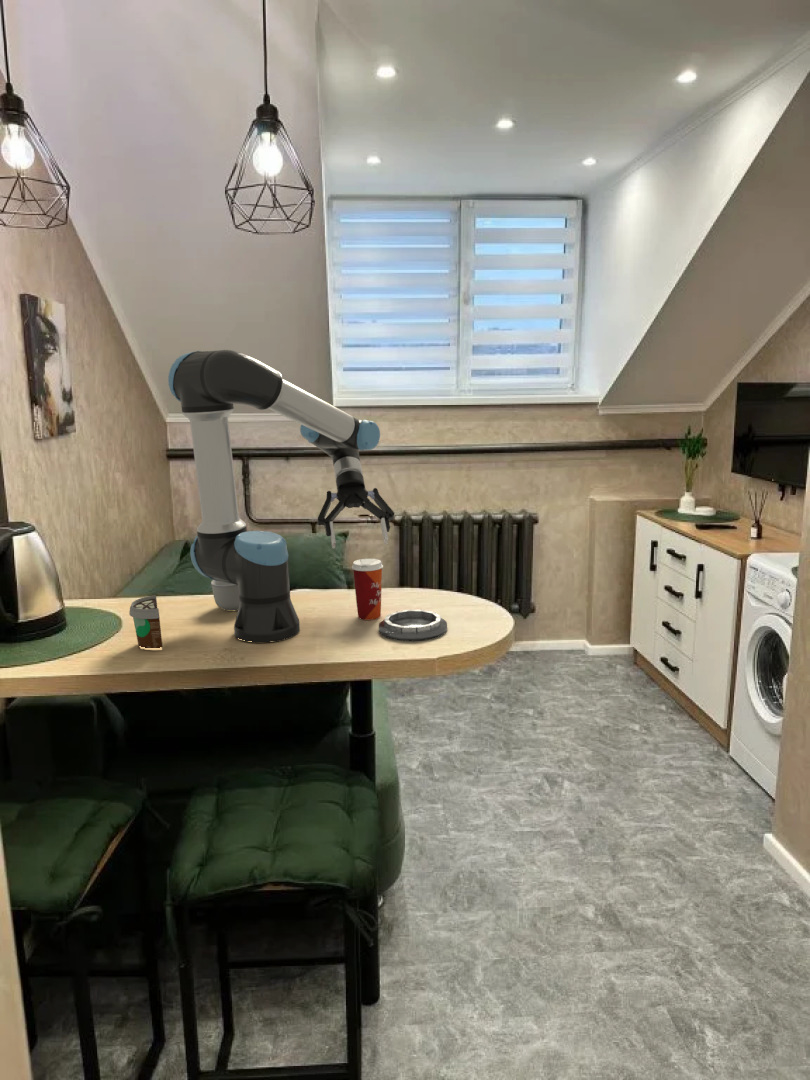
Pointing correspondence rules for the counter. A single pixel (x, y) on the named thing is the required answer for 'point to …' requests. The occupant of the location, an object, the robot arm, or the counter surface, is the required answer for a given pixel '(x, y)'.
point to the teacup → (226, 595)
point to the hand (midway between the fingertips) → (360, 543)
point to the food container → (147, 622)
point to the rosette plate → (412, 625)
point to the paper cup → (368, 587)
